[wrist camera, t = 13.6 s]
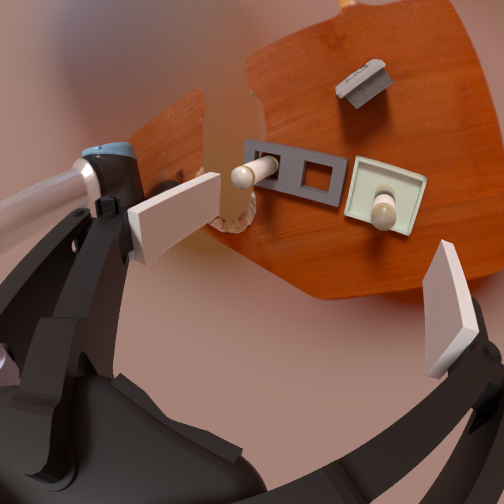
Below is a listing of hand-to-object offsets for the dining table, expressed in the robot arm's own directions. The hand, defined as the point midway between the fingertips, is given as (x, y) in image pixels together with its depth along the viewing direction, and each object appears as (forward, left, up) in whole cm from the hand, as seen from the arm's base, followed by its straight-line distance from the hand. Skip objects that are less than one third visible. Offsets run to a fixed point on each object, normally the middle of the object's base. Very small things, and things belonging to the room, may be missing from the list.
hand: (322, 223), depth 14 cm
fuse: (-18, -7, -36) cm, 41 cm away
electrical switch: (-2, +12, -37) cm, 39 cm away
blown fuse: (+5, -7, -36) cm, 37 cm away
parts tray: (+5, -7, -36) cm, 38 cm away
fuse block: (-13, -7, -36) cm, 39 cm away
